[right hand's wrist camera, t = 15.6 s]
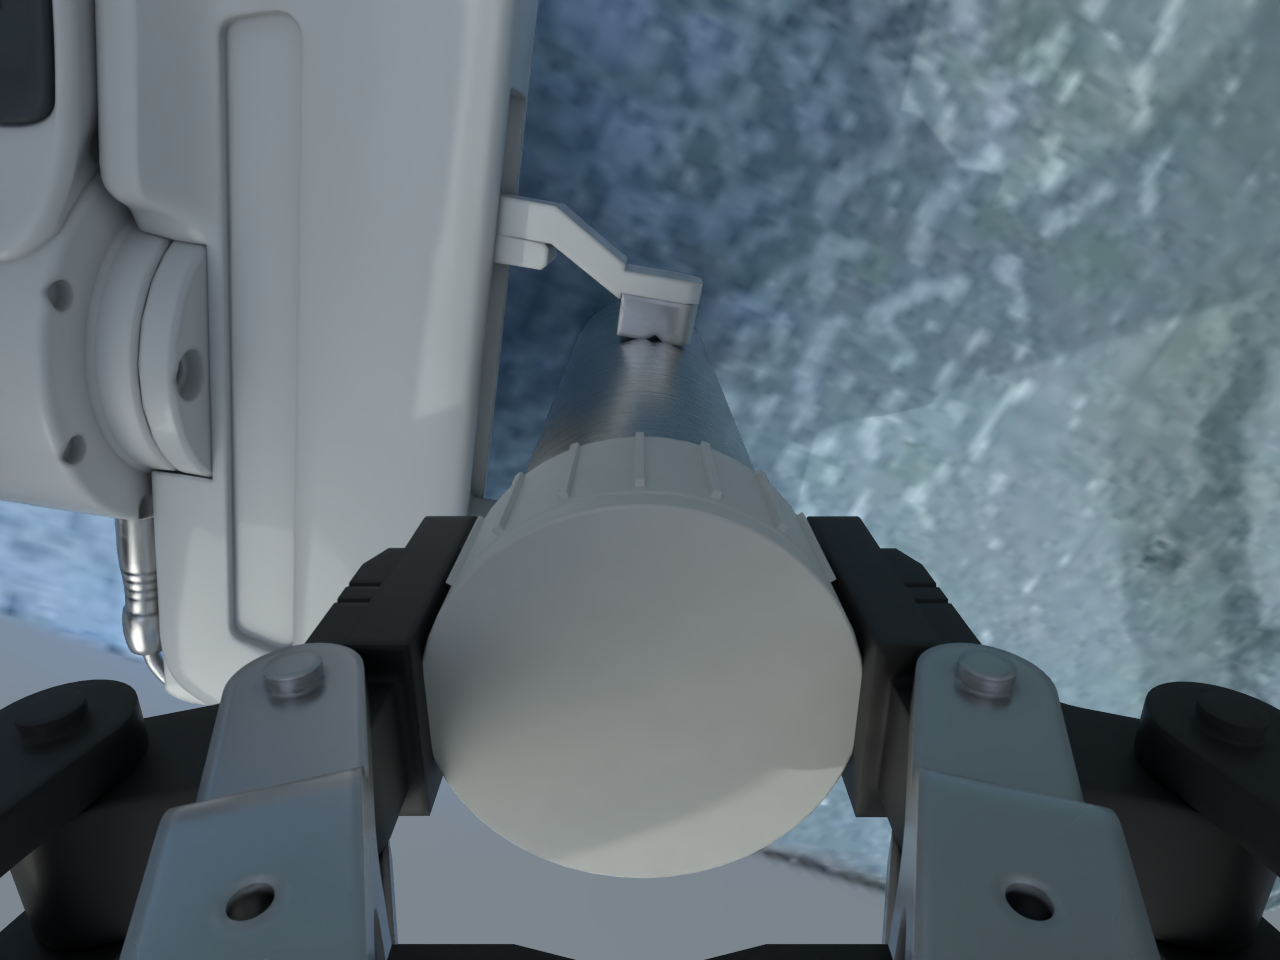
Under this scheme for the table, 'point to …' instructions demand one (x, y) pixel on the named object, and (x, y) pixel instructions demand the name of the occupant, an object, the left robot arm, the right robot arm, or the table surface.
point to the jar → (637, 394)
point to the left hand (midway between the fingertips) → (675, 422)
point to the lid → (642, 662)
